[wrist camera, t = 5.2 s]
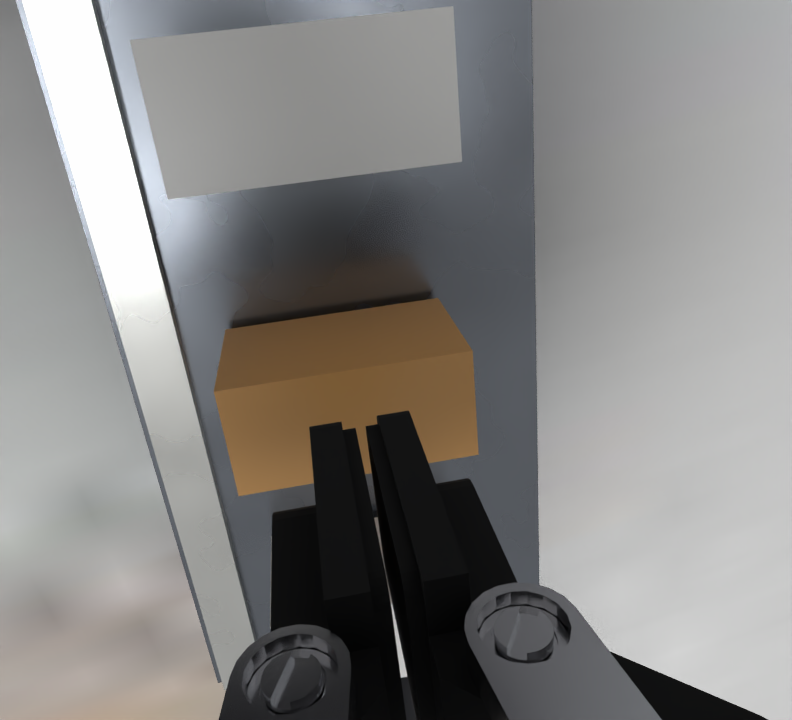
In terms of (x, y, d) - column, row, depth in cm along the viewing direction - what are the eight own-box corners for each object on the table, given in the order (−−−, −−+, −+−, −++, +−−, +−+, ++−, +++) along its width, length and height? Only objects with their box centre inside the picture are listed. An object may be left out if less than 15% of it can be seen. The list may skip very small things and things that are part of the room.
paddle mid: (225, 329, 16) (213, 392, 13) (438, 297, 16) (472, 351, 13) (245, 419, 17) (238, 496, 14) (445, 387, 17) (478, 454, 14)
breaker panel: (32, -87, 15) (-26, -121, 12) (488, -127, 16) (534, -165, 13) (224, 613, 23) (217, 691, 20) (511, 558, 24) (543, 625, 21)
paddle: (161, 42, 13) (129, 39, 10) (416, 16, 14) (453, 6, 11) (190, 169, 14) (167, 199, 11) (425, 140, 15) (462, 161, 12)
